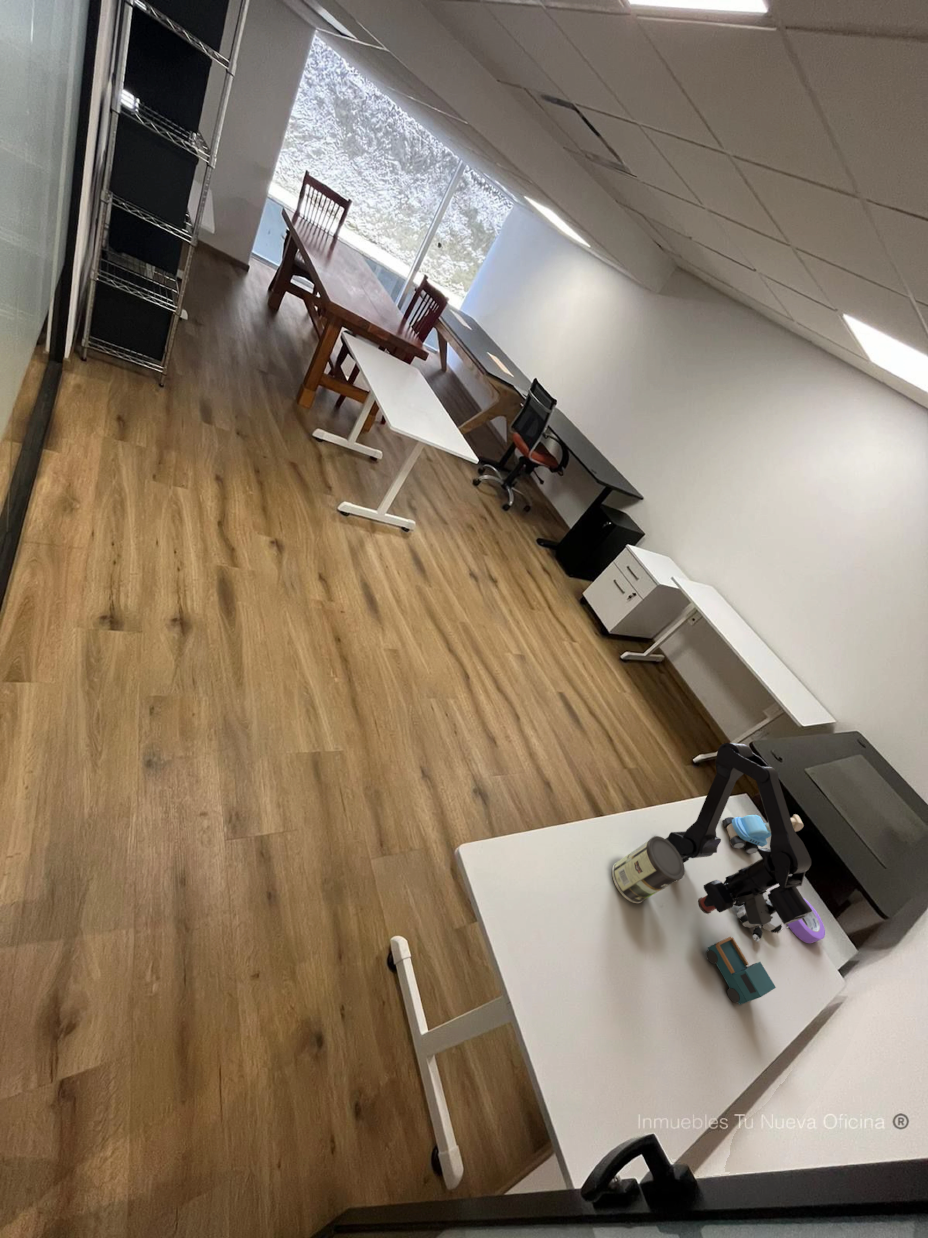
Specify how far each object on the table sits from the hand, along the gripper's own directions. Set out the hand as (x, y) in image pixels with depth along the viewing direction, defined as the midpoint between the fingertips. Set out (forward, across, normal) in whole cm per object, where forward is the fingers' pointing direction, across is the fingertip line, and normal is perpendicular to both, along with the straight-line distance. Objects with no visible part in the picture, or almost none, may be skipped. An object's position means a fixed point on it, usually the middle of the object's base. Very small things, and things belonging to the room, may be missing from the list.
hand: (709, 903), depth 134 cm
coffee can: (+6, -18, +11) cm, 21 cm away
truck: (+5, -1, -14) cm, 15 cm away
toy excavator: (+6, +40, +13) cm, 43 cm away
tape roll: (+6, +41, -11) cm, 43 cm away
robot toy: (+6, +21, -6) cm, 23 cm away
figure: (+2, 0, 0) cm, 2 cm away
